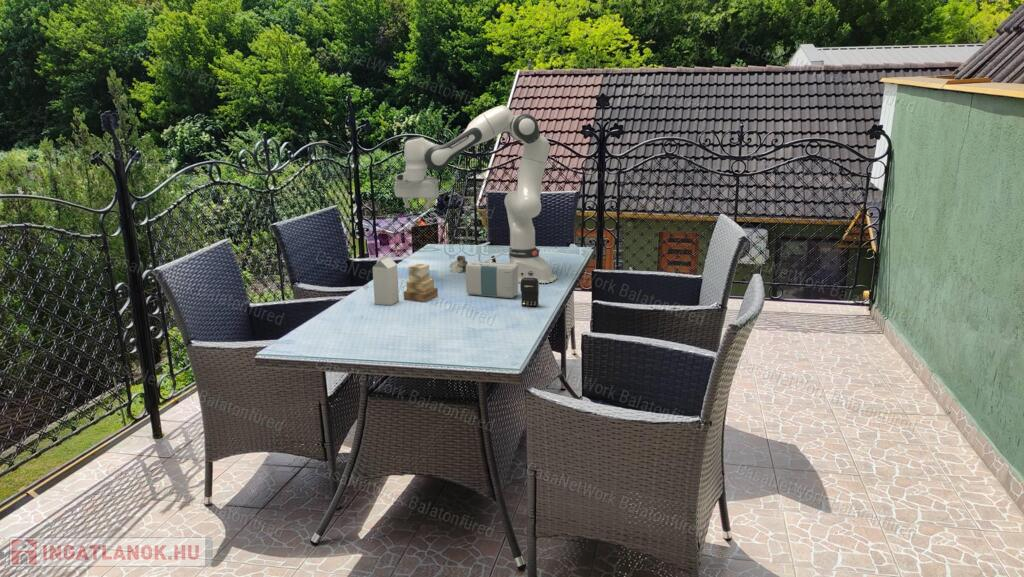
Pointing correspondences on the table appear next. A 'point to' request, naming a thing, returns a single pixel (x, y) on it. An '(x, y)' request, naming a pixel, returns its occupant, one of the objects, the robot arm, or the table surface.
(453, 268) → the artificial flower
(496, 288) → the stereo radio cassette player
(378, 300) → the milk carton
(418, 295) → the walnut slab
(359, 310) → the table surface
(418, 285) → the oak slab
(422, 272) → the maple cube
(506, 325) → the table surface
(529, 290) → the battery
